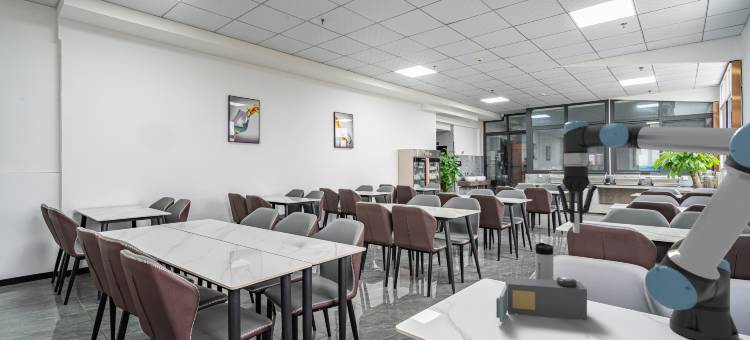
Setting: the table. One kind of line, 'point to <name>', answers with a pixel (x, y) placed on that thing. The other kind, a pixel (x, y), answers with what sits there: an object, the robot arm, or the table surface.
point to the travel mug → (544, 261)
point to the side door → (501, 305)
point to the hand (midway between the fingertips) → (576, 232)
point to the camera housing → (547, 298)
